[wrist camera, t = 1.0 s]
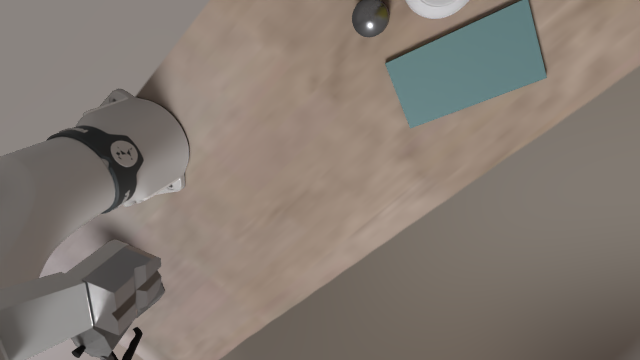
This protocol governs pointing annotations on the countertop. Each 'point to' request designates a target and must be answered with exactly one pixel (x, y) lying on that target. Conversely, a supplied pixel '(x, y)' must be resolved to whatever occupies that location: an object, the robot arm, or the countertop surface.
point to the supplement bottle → (436, 7)
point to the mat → (469, 65)
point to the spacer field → (370, 17)
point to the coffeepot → (109, 338)
